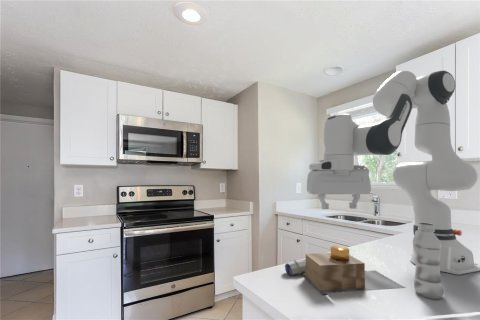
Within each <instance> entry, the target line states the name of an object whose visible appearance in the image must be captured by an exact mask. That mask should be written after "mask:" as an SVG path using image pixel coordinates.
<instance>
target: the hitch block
mask: <svg viewBox="0 0 480 320" xmlns="http://www.w3.org/2000/svg"><path fill="white" fill-rule="evenodd" d="M305 259H306V272H305V273H303V277H304V278H305V279H306V280H307V281H308V282H309V284H311V285H312V286H313V287H314V289H316V290H317V291H318V292H319V293H320V294H321V295H322V296H328V294H332V293H334V294H335V293H348V292H349V293H350V292H363V291H377V290H390V289H391V290H395V289H406V287H405V286H403V285H402V284H400V283H398V282H397V281H394V280H393V279H391V278H390V277H387V276H385V275H384V274H382V273H381V272H379V271H377V270H373V269H372V270H366V265H365V262H364V261H361V260H360V259H358V258H356V257H354V256H352V255H351V254H349V261H336V260H334V259H332V258H331V252H327V253H326V252H325V253H324V252H322V253H305Z"/></svg>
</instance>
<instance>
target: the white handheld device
mask: <svg viewBox="0 0 480 320" xmlns="http://www.w3.org/2000/svg"><path fill="white" fill-rule="evenodd" d="M284 270H285V272H286V274H287V275H288V276H289V277H291V276H295V275H298V276H299V275H301V274H304V273H306V258H305V259H300V260H295V259H294V260H293V261H290V262H288V263H285V265H284Z"/></svg>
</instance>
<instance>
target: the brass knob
mask: <svg viewBox="0 0 480 320" xmlns="http://www.w3.org/2000/svg"><path fill="white" fill-rule="evenodd" d="M330 253H331V258H332V259H334V260H336V261H349V255H350V249H349V248H348V247H345V246H343V245H342V246H341V245H332V246H330Z"/></svg>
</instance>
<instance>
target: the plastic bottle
mask: <svg viewBox="0 0 480 320" xmlns="http://www.w3.org/2000/svg"><path fill="white" fill-rule="evenodd" d="M418 230H419V232H418V233H417V234H416V235H415V236H414V235H413V239H412V242H411V243H412V249H413V248H414V253H415V260H416V261H415V262H416V264H415V268H414V269H415V271H414V278H413V288H414V291H415V292H416V293H417V294H418V295H419V296H421V297H423V298H426V299H429V300H435V301H436V300H440V299H442V298H443V296H444V285H443V283H442V279H441V271H440V266H439V264H440V253H441V243H440V241H439V239H438V238H437V237H436V236H435V234H434V232H435V229H434V224H430V223H418Z"/></svg>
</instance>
